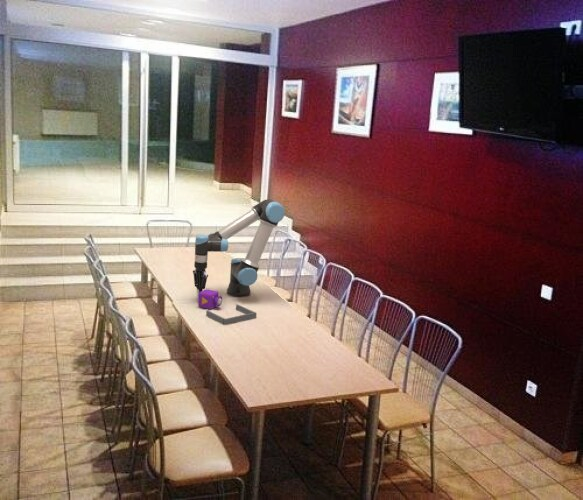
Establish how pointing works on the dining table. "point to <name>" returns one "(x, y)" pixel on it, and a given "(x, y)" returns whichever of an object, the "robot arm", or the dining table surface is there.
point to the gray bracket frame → (247, 316)
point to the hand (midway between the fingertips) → (199, 299)
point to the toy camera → (209, 299)
